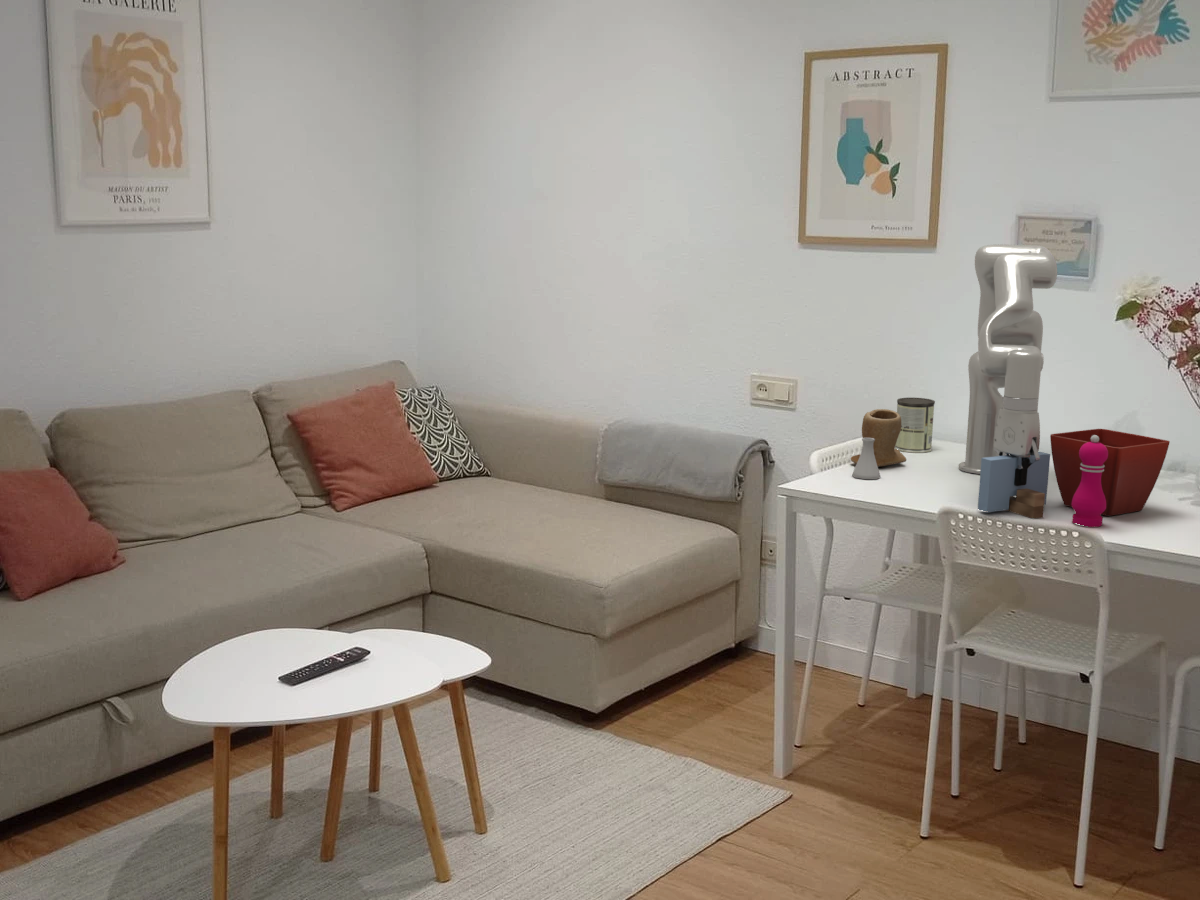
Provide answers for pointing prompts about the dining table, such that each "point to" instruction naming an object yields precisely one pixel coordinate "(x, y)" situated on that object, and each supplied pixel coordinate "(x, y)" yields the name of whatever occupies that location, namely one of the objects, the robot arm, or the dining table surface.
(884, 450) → the stone cup
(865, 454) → the flask
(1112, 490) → the plant pot
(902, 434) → the coffee can
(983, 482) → the blue notched block
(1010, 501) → the walnut u-shaped block
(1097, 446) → the pepper mill
